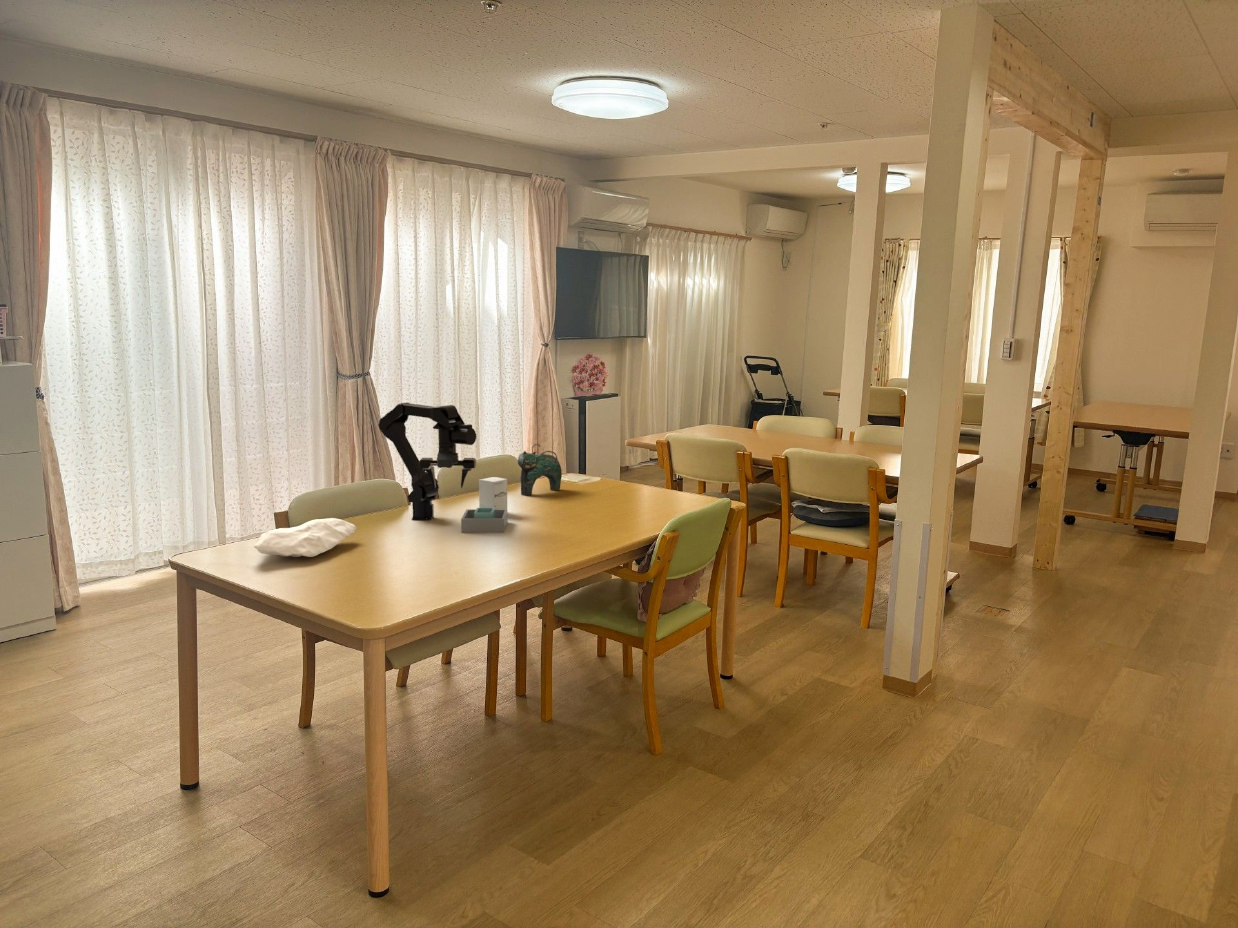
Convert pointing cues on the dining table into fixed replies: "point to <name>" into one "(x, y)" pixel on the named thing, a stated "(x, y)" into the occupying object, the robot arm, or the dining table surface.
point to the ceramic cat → (539, 470)
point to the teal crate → (484, 513)
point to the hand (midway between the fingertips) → (448, 487)
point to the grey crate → (484, 522)
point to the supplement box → (493, 493)
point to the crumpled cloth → (305, 538)
